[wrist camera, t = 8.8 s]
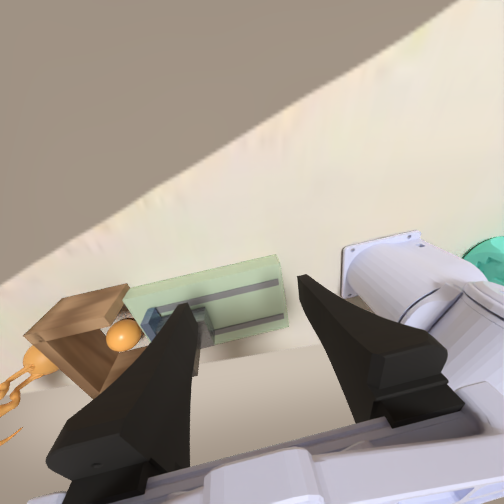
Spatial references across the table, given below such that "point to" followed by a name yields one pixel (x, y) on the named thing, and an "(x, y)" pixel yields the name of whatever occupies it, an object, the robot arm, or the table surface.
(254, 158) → the table surface
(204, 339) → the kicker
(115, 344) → the ball
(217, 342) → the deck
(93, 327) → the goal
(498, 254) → the decorative dice
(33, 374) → the figurine
